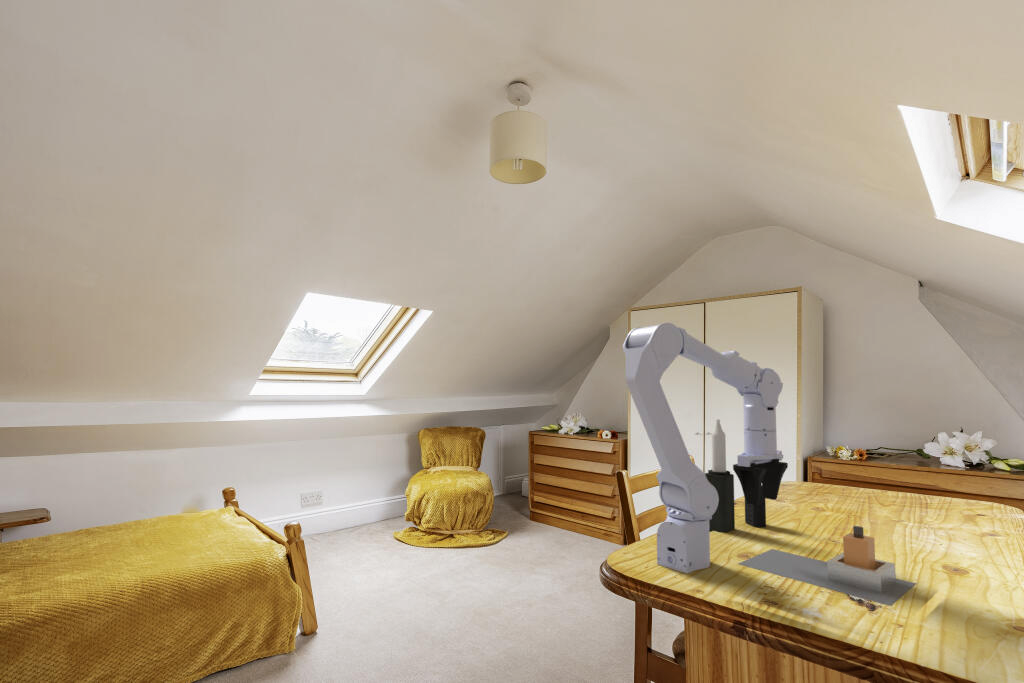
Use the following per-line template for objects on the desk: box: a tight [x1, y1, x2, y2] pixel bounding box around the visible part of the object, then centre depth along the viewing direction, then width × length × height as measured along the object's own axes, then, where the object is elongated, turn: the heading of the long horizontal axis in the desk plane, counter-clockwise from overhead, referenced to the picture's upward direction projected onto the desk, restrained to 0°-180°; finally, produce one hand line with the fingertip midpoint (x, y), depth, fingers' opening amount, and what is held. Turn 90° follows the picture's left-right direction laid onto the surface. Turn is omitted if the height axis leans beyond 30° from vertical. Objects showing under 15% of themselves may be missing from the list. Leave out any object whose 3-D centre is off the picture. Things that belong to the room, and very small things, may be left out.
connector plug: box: [842, 525, 876, 570], centre depth 88 cm, size 4×4×9 cm
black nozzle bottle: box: [704, 418, 736, 534], centre depth 119 cm, size 5×5×25 cm
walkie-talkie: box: [744, 465, 767, 528], centre depth 126 cm, size 5×3×15 cm
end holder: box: [826, 551, 897, 594], centre depth 87 cm, size 8×8×3 cm
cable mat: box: [737, 548, 917, 607], centre depth 91 cm, size 14×23×1 cm, turn 40°
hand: (761, 501), depth 102 cm, fingers open, 7 cm apart
